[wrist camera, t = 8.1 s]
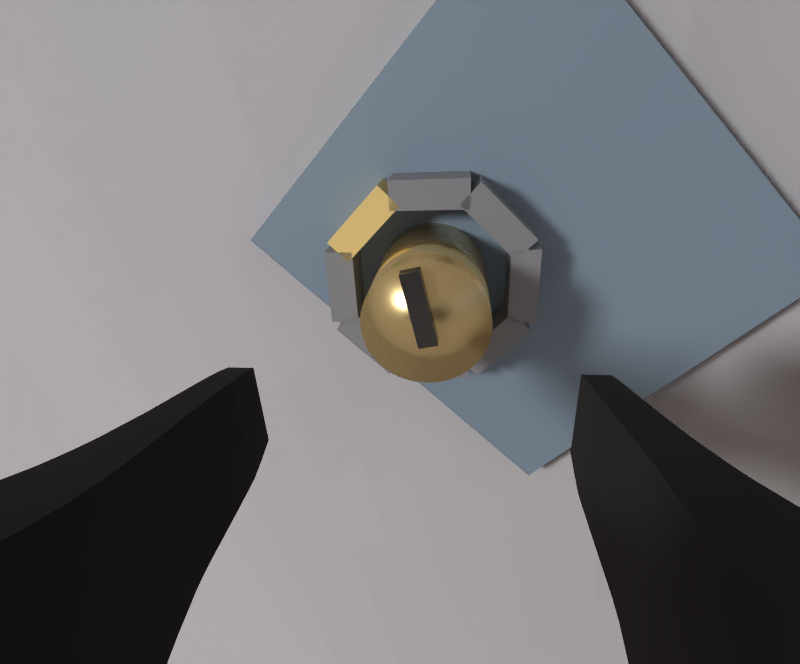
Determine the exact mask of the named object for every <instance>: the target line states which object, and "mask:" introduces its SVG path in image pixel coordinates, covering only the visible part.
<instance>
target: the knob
mask: <svg viewBox="0 0 800 664" xmlns="http://www.w3.org/2000/svg"><path fill="white" fill-rule="evenodd" d="M492 325H493V323H492V314H491V305H490V297H489V289H488V280H487V272H486V264H485V260H484V257H483V254H482V252H481V250H480V248H479V247H478V245H477V244H476V243H475V241H474V240H473V239H472V238H471V237H470V236H469V235H467V234H466V233H464V232H463V231H461V230H459V229H458V228H455V227H453V226H450V225H446V224H441V223H426V224H421V225H417V226H414V227H412V228H410V229H408V230H406V231H404V232H403V233H402V234H400V235H399V236H398V237H397V238H396V239H395V240H394V241H393V242H392V244H391V245H390V246H389V248H388V250H387V252H386V254H385V256H384V258H383V260H382V263H381V265H380V267H379V269H378V271H377V274H376V276H375V278H374V280H373V282H372V285H371V287H370V289H369V291H368V293H367V296H366V298H365V300H364V303H363V306H362V309H361V315H360V327H361V333H362V337H363V340H364V342H365V345H366V347H367V349H368V350H369V352H370V353H371V355H372V356H373V357H374V359H375V360H376V361H377V362H378V363H379V364H380V365H381V366H383V367H384V368H385V369H387V370H388V371H390V372H391V373H393V374H395V375H397V376H399V377H402V378H404V379H407V380H411V381H415V382H424V383H433V382H441V381H446V380H449V379H452V378H455V377H457V376H460V375H462V374H463V373H465V372H467V371H468V370H470V369H471V368H472V367H473V366H474V365H475V364H476V363H477V362H478V361H479V360H480V359H481V358H482V356H483V355H484V353H485V352H486V350H487V348H488V346H489V343H490V340H491V335H492Z"/></svg>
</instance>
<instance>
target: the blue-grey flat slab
mask: <svg viewBox="0 0 800 664" xmlns="http://www.w3.org/2000/svg"><path fill="white" fill-rule="evenodd" d="M426 223H441V224H446V225H450V226H453V227H455V228H458V229H459V230H461V231H463V232H464V233H466V234H467V235H469V236H470V237H471V238H472V239H473V240H474V241H475V243H476V244H477V245H478V247H479V248H480V250H481V252H482V254H483V257H484V260H485V264H486V272H487V280H488V289H489V297H490V305H491V314H492V323H493V325H492V335H491V340H490V343H489V346H488V348H487V350H486V352H485V353H484V355H483V356H482V358H481V359H480V360H479V361H478V362H477V363H476V364H475V365H474V366H473V367H472V368H471V369H470V370H468V371H467V372H465V373H463V374H462V375H460V376H457V377H455V378H452V379H449V380H446V381H441V382H433V383H424V382H419V383H420V384H421V385H422V386H424V387H425V388H426V389H427V390H428V391H430V392H431V393H432V394H433V395H434V396H435V397H437V398H438V399H439V400H440V401H441V402H443V403H444V404H445V405H446V406H447V407H448V408H450V409H451V410H452V411H453V412H454V413H456V414H457V415H458V416H459V417H460V418H461V419H463V420H464V421H465V422H466V423H467V424H469V425H470V426H471V427H472V428H473V429H474V430H476V431H477V432H478V433H479V434H480V435H482V436H483V437H484V438H485V439H486V440H487V441H489V442H490V443H491V444H492V445H493V446H495V447H496V448H497V449H498V450H499V451H501V452H502V453H503V454H504V455H505V456H506V457H508V458H509V459H510V460H511V461H512V462H514V463H515V464H516V465H517V466H518V467H519V468H521V469H522V470H523V471H524V472H525V473H527V474H528V475H529V474H531V473H532V472H534V471H536V470H537V469H539V468H540V467H542V466H543V465H545V464H546V463H548V462H549V461H551V460H552V459H554V458H555V457H557V456H558V455H560V454H562V453H563V452H565V451H566V450H568V449H569V448H571V444H572V437H573V430H574V423H575V415H576V408H577V401H578V394H579V387H580V379H581V375H612V376H614V377H615V378H616V379H618V380H619V381H620V382H622V383H623V384H624V385H626V386H627V387H628V388H629V389H631V390H632V391H633V392H634V393H635V394H637V395H638V396H639V397H640V398H642V399H643V400H644V399H646V398H647V397H649V396H650V395H652V394H653V393H655V392H656V391H658V390H659V389H661V388H662V387H664V386H666V385H667V384H669V383H670V382H672V381H673V380H675V379H676V378H678V377H679V376H681V375H682V374H684V373H685V372H687V371H688V370H690V369H692V368H693V367H695V366H696V365H698V364H699V363H701V362H702V361H704V360H705V359H707V358H708V357H710V356H711V355H713V354H714V353H716V352H718V351H719V350H721V349H722V348H724V347H725V346H727V345H728V344H730V343H731V342H733V341H734V340H736V339H737V338H739V337H740V336H742V335H744V334H745V333H747V332H748V331H750V330H751V329H753V328H754V327H756V326H757V325H759V324H760V323H762V322H763V321H765V320H766V319H768V318H770V317H771V316H773V315H774V314H776V313H777V312H779V311H780V310H782V309H783V308H785V307H786V306H788V305H789V304H791V303H792V302H794V301H796V300H797V299H799V298H800V219H799V218H798V217H797V216H796V214H795V213H794V212H793V211H792V209H791V208H790V207H789V206H788V204H787V203H786V202H785V201H784V199H783V198H782V197H781V195H780V194H779V193H778V192H777V190H776V189H775V188H774V187H773V185H772V184H771V183H770V182H769V180H768V179H767V178H766V177H765V175H764V174H763V173H762V172H761V170H760V169H759V168H758V166H757V165H756V164H755V163H754V161H753V160H752V159H751V158H750V156H749V155H748V154H747V153H746V151H745V150H744V149H743V148H742V146H741V145H740V144H739V143H738V141H737V140H736V139H735V138H734V136H733V135H732V134H731V132H730V131H729V130H728V129H727V127H726V126H725V125H724V124H723V122H722V121H721V120H720V119H719V117H718V116H717V115H716V114H715V112H714V111H713V110H712V109H711V107H710V106H709V105H708V104H707V102H706V101H705V100H704V98H703V97H702V96H701V95H700V93H699V92H698V91H697V90H696V88H695V87H694V86H693V85H692V83H691V82H690V81H689V80H688V78H687V77H686V76H685V75H684V73H683V72H682V71H681V70H680V68H679V67H678V66H677V64H676V63H675V62H674V61H673V59H672V58H671V57H670V56H669V54H668V53H667V52H666V51H665V49H664V48H663V47H662V46H661V44H660V43H659V42H658V41H657V39H656V38H655V37H654V36H653V34H652V33H651V32H650V30H649V29H648V28H647V27H646V25H645V24H644V23H643V22H642V20H641V19H640V18H639V17H638V15H637V14H636V13H635V12H634V10H633V9H632V8H631V7H630V5H629V4H628V3H627V1H626V0H436V1H435V3H434V4H433V5H432V7H431V8H430V9H429V10H428V12H427V13H426V14H425V16H424V17H423V18H422V19H421V21H420V22H419V23H418V25H417V26H416V27H415V29H414V30H413V31H412V32H411V34H410V35H409V36H408V38H407V39H406V40H405V41H404V43H403V44H402V45H401V47H400V48H399V49H398V51H397V52H396V53H395V54H394V56H393V57H392V58H391V60H390V61H389V62H388V63H387V65H386V66H385V67H384V69H383V70H382V71H381V72H380V74H379V75H378V76H377V78H376V79H375V80H374V82H373V83H372V84H371V85H370V87H369V88H368V89H367V91H366V92H365V93H364V94H363V96H362V97H361V98H360V100H359V101H358V102H357V104H356V105H355V106H354V107H353V109H352V110H351V111H350V113H349V114H348V115H347V116H346V118H345V119H344V120H343V122H342V123H341V124H340V125H339V127H338V128H337V129H336V131H335V132H334V133H333V135H332V136H331V137H330V138H329V140H328V141H327V142H326V144H325V145H324V146H323V147H322V149H321V150H320V151H319V153H318V154H317V155H316V157H315V158H314V159H313V160H312V162H311V163H310V164H309V166H308V167H307V168H306V169H305V171H304V172H303V173H302V175H301V176H300V177H299V178H298V180H297V181H296V182H295V184H294V185H293V186H292V188H291V189H290V190H289V191H288V193H287V194H286V195H285V197H284V198H283V199H282V200H281V202H280V203H279V204H278V206H277V207H276V208H275V210H274V211H273V212H272V213H271V215H270V216H269V217H268V219H267V220H266V221H265V222H264V224H263V225H262V226H261V228H260V229H259V230H258V231H257V233H256V234H255V235H254V237H253V238H252V239H251V241H252V242H253V243H255V244H256V245H257V246H258V247H259V248H260V249H262V250H263V251H264V252H265V253H266V254H268V255H269V256H270V257H271V258H272V259H273V260H275V261H276V262H277V263H278V264H279V265H281V266H282V267H283V268H284V269H285V270H286V271H288V272H289V273H290V274H291V275H292V276H294V277H295V278H296V279H297V280H298V281H299V282H301V283H302V284H303V285H304V286H305V287H307V288H308V289H309V290H310V291H311V292H312V293H314V294H315V295H316V296H317V297H318V298H320V299H321V300H322V301H323V302H324V303H326V304H327V305H328V306H329V307H330V308H331V313H332V321H333V322H341V323H340V325H339V327H338V329H337V330H338V331H339V332H340V333H342V334H343V335H344V336H345V337H346V338H348V339H349V340H350V341H351V342H352V343H354V344H355V345H356V346H357V347H358V348H360V349H361V350H362V351H363V352H364V353H366V354H367V355H368V356H369V357H370V358H372V359H373V360H374V361H375V362H376V363H378V362H377V361H376V360H375V359H374V357H373V356H372V355H371V353H370V352H369V350H368V349H367V347H366V345H365V342H364V340H363V337H362V333H361V327H360V315H361V309H362V306H363V303H364V300H365V298H366V296H367V293H368V291H369V289H370V287H371V285H372V282H373V280H374V278H375V276H376V274H377V271H378V269H379V267H380V265H381V263H382V260H383V258H384V256H385V254H386V252H387V250H388V248H389V246H390V245H391V244H392V242H393V241H394V240H395V239H396V238H397V237H398V236H399V235H400V234H402V233H403V232H404V231H406V230H408V229H410V228H412V227H414V226H417V225H421V224H426ZM378 364H379V363H378ZM379 365H380V364H379ZM380 366H381V365H380ZM381 367H382V368H384V367H383V366H381ZM384 369H385V368H384ZM385 370H386V371H387V372H388V373H391V372H390V371H388V370H387V369H385Z"/></svg>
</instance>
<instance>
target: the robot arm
mask: <svg viewBox="0 0 800 664" xmlns="http://www.w3.org/2000/svg"><path fill="white" fill-rule="evenodd" d="M268 440H269V439H268V435H267V430H266V425H265V421H264V416H263V411H262V406H261V402H260V397H259V392H258V388H257V383H256V378H255V374H254V369H253V368H226V369H224V370H221V371H219V372H217V373H215V374H213V375H211V376H209V377H208V378H206V379H204V380H202V381H200V382H199V383H197V384H195V385H193V386H191V387H190V388H188V389H186V390H184V391H183V392H181V393H179V394H177V395H176V396H174V397H172V398H170V399H169V400H167V401H165V402H163V403H162V404H160V405H158V406H156V407H155V408H153V409H151V410H149V411H148V412H146V413H144V414H142V415H140V416H138V417H136V418H135V419H133V420H131V421H129V422H127V423H125V424H123V425H121V426H120V427H118V428H116V429H114V430H112V431H110V432H108V433H106V434H104V435H103V436H101V437H99V438H97V439H95V440H93V441H91V442H89V443H86V444H84V445H82V446H80V447H78V448H76V449H74V450H72V451H69V452H67V453H65V454H63V455H60V456H58V457H56V458H54V459H51V460H49V461H47V462H45V463H42V464H40V465H37V466H35V467H33V468H30V469H28V470H25V471H22V472H20V473H17V474H15V475H12V476H9V477H7V478H4V479H1V480H0V664H167V662H168V659H169V657H170V654H171V651H172V649H173V646H174V644H175V641H176V638H177V636H178V633H179V631H180V629H181V626H182V624H183V621H184V619H185V616H186V614H187V612H188V609H189V607H190V604H191V602H192V600H193V597H194V595H195V592H196V590H197V588H198V585H199V583H200V581H201V579H202V577H203V575H204V573H205V571H206V569H207V567H208V565H209V563H210V561H211V559H212V558H213V556H214V554H215V552H216V550H217V548H218V546H219V545H220V543H221V541H222V539H223V537H224V535H225V533H226V532H227V530H228V528H229V526H230V524H231V522H232V520H233V518H234V517H235V515H236V513H237V511H238V509H239V507H240V505H241V503H242V502H243V500H244V498H245V496H246V494H247V492H248V490H249V488H250V486H251V484H252V482H253V480H254V478H255V476H256V473H257V471H258V468H259V465H260V463H261V460H262V457H263V454H264V451H265V449H266V446H267V443H268ZM570 452H571V457H572V463H573V469H574V474H575V479H576V484H577V489H578V494H579V497H580V501H581V504H582V507H583V510H584V513H585V516H586V519H587V522H588V525H589V529H590V532H591V535H592V538H593V541H594V544H595V547H596V550H597V553H598V556H599V559H600V562H601V565H602V568H603V571H604V574H605V577H606V580H607V583H608V586H609V589H610V592H611V595H612V598H613V602H614V605H615V609H616V612H617V616H618V619H619V623H620V627H621V632H622V636H623V641H624V645H625V649H626V654H627V658H628V663H629V664H800V507H798V506H796V505H795V504H793V503H791V502H790V501H788V500H786V499H785V498H783V497H781V496H780V495H778V494H776V493H775V492H773V491H771V490H770V489H768V488H766V487H765V486H763V485H761V484H760V483H758V482H756V481H755V480H753V479H751V478H750V477H748V476H747V475H745V474H744V473H742V472H740V471H739V470H737V469H736V468H734V467H733V466H731V465H730V464H729V463H727V462H726V461H724V460H723V459H721V458H720V457H718V456H717V455H715V454H714V453H713V452H711V451H710V450H708V449H707V448H705V447H704V446H703V445H701V444H700V443H698V442H697V441H696V440H694V439H693V438H692V437H690V436H689V435H688V434H686V433H685V432H684V431H682V430H681V429H680V428H678V427H677V426H676V425H674V424H673V423H672V422H671V421H669V420H668V419H667V418H665V417H664V416H663V415H662V414H660V413H659V412H658V411H657V410H655V409H654V408H653V407H652V406H650V405H649V404H648V403H647V402H645V401H644V400H643V399H642V398H640V397H639V396H638V395H637V394H635V393H634V392H633V391H632V390H631V389H629V388H628V387H627V386H626V385H624V384H623V383H622V382H620V381H619V380H618V379H616V378H615V377H614V376H612V375H581V379H580V387H579V394H578V401H577V408H576V415H575V423H574V430H573V437H572V444H571V451H570Z"/></svg>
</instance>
